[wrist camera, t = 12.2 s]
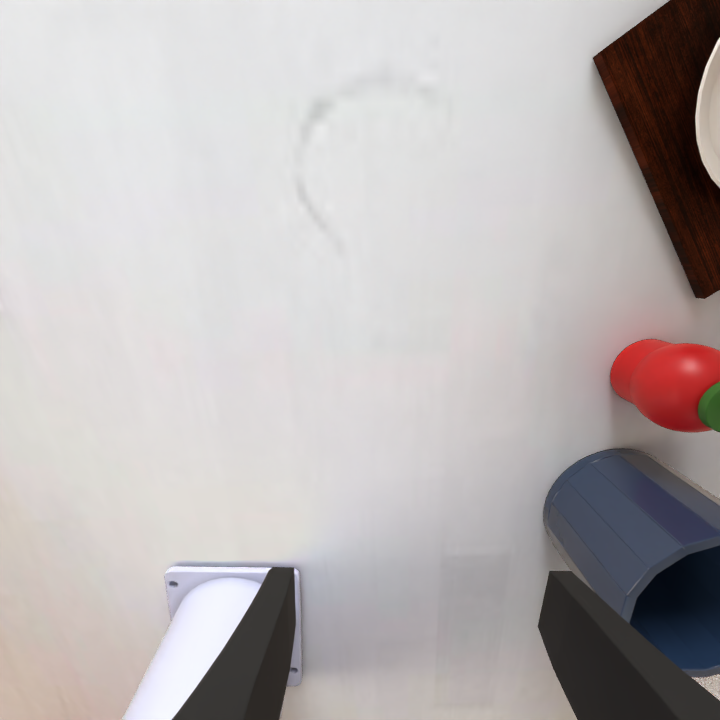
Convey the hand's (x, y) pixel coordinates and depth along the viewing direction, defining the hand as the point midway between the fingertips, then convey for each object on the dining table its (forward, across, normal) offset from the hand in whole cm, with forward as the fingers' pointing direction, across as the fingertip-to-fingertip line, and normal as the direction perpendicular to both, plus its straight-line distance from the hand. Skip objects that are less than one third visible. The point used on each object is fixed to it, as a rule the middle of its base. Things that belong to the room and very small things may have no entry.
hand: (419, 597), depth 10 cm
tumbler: (+10, -13, +4) cm, 17 cm away
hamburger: (+10, -16, -16) cm, 25 cm away
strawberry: (+10, -13, -4) cm, 17 cm away
